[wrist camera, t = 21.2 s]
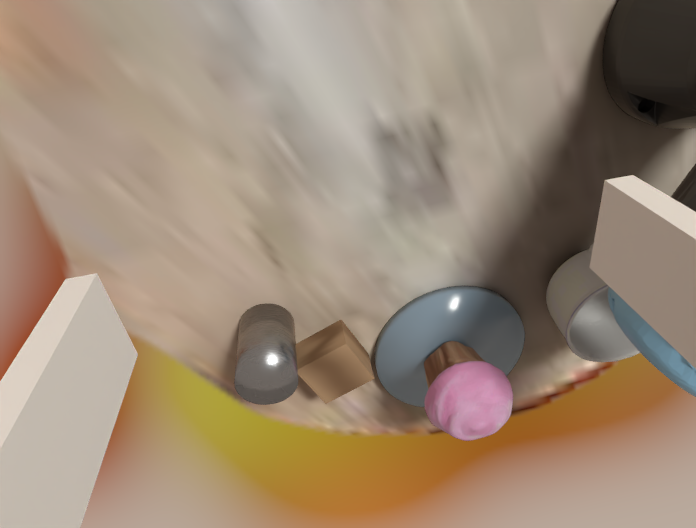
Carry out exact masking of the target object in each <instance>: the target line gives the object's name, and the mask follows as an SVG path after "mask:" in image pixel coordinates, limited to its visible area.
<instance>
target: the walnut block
mask: <svg viewBox="0 0 696 528" xmlns="http://www.w3.org/2000/svg"><path fill="white" fill-rule="evenodd" d="M296 355H297V369H298V375H299V376H300V377H301V378H302V379H303V380H304V381H305V382H306V383H307V385H308V386H309V387H310V388H311V389H312V390H313V391H314V392H315V393H316V394H317V395H318V396H319V397H320V398H321V399H322V400H323V401H324V402H325V403H328V402H330V401H332V400H334V399H336V398H338V397H340V396H342V395H344V394H346V393H348V392H350V391H352V390H353V389H355V388H357V387H359V386H361V385H363V384H365V383H367V382H369V381H371V380H373V379H374V375H373V371H372V367H371V363H370V359H369V355H368V353H367V352H366V350H365V349H364V348H363V346H362V345H361V344H360V343H359V341H358V340H357V339H356V338H355V336H354V335H353V334H352V333H351V331H350V330H349V329H348V328H347V326H346V325H345V324H344V322H343V321H342V320H339V321H337V322H336V323H334V324H332V325H330V326H328V327H327V328H325V329H323V330H321V331H319V332H317V333H316V334H314V335H312V336H310V337H308V338H306V339H305V340H303V341H301V342H299V343H297V344H296Z"/></svg>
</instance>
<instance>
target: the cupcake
mask: <svg viewBox="0 0 696 528" xmlns="http://www.w3.org/2000/svg"><path fill="white" fill-rule="evenodd" d="M424 368H425V373H426V381H427V385H428V391H427V394H426V396H425V401H424V404H425V411H426V414H427V416H428V418H429V420H430V422H431V423H432V424H433V425H434V426H436V427H437V428H439V429H441V430H443V431H445V432H446V433H448V434H450V435H451V436H453V437H455V438H457V439H461V440H465V441H470V440H475V439H479V438H483V437H486V436H489V435H492V434H494V433H495V432H497V431H498V430H499V429H500V428H501V427H502V426H503V425H504V424H505V423H506V422H507V421H508V419H509V417H510V415H511V411H512V404H513V392H512V388H511V385H510V382H509V380H508V379H507V377H506V375H505V373H504V372H503V371H502V370H500V369H498V368H497V367H495V366H493V365H492V364H490V363H487V362H485V361H484V360H483V359H482V358H481V357H480V356H479V355H478V354H477V353H476V351H475V350H474V349H473V348H471V347H467V346H464V345H463V344H461V343H459V342H456V341H448V342H445V343H443V344H442V345H441V346H440V347H439V348H438V349H437V350H436V351H435V352H433V353H432V354H431V355H430V356H429V357H428V358H427V359H426V360H425V361H424Z"/></svg>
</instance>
